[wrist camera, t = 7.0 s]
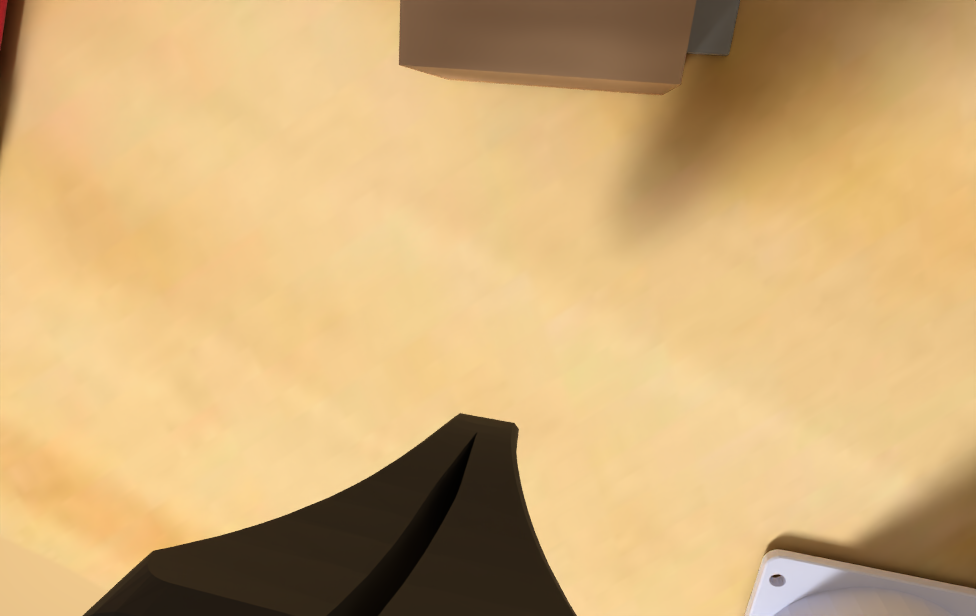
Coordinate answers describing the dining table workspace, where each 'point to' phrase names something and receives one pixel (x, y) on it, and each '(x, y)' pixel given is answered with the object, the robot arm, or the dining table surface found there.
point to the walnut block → (550, 42)
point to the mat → (713, 27)
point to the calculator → (2, 17)
